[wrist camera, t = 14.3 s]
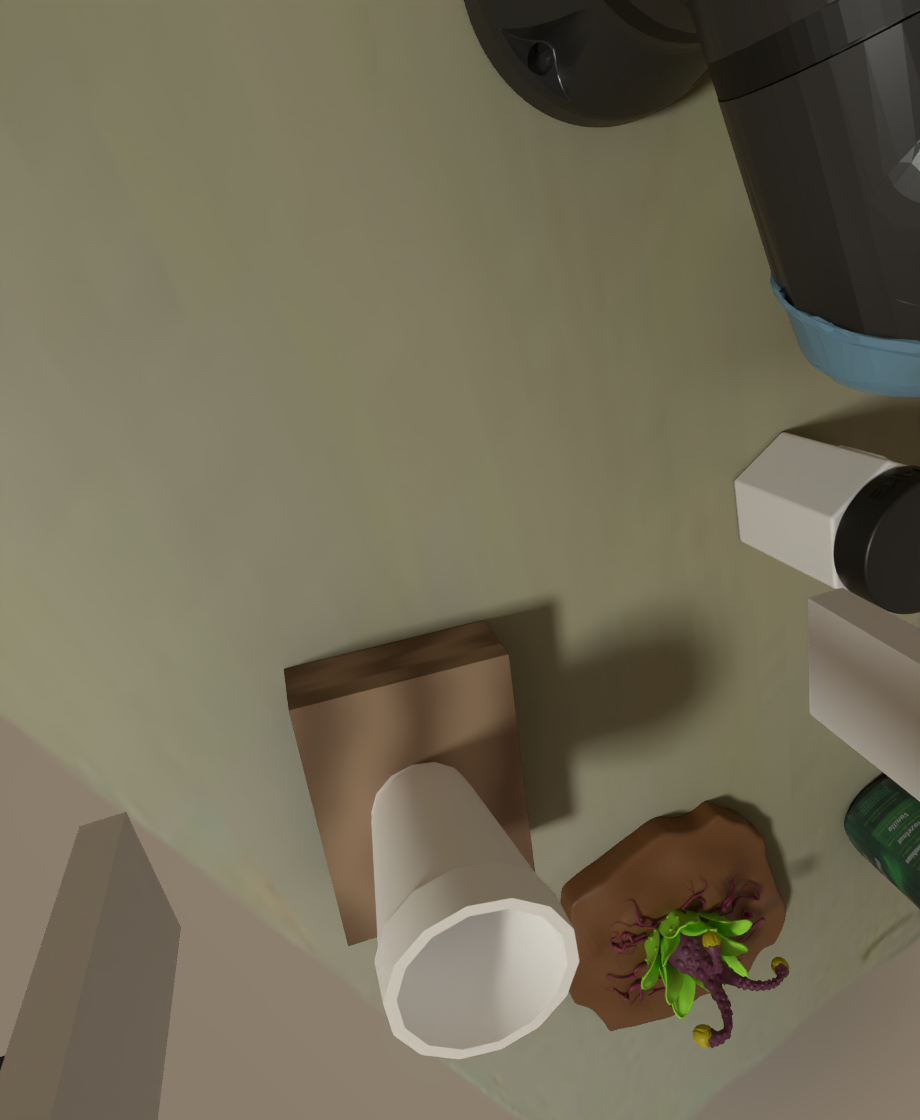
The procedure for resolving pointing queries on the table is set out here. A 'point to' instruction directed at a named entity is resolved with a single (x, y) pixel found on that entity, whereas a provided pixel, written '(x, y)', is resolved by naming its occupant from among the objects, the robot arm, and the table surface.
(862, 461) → the jar
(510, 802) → the walnut shelf stand
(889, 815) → the coffee jar
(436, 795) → the foam cup
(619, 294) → the table surface
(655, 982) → the plant
